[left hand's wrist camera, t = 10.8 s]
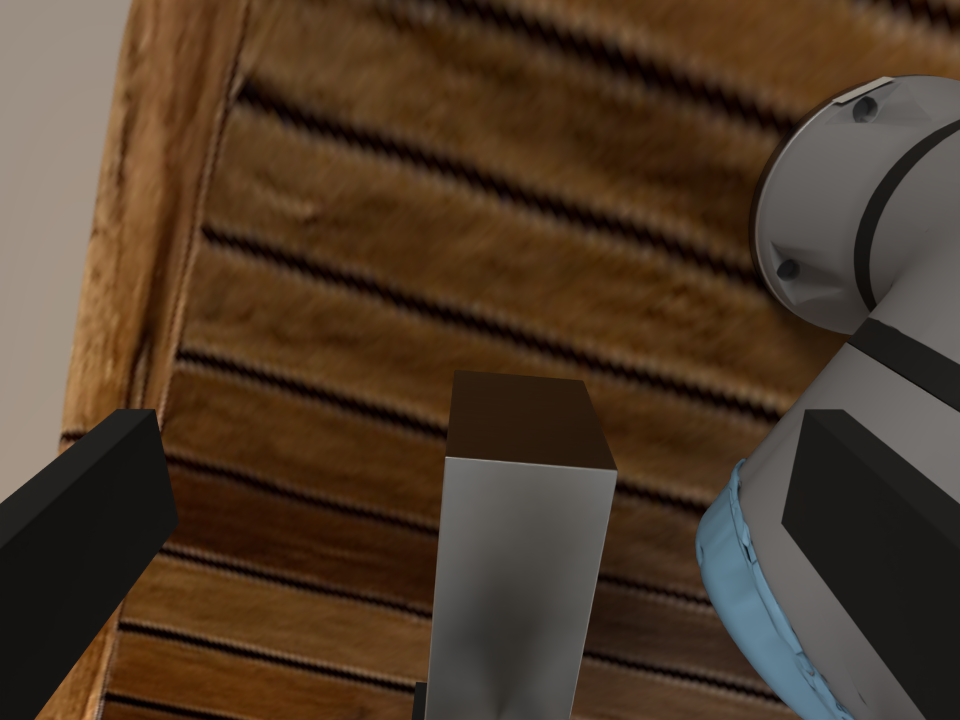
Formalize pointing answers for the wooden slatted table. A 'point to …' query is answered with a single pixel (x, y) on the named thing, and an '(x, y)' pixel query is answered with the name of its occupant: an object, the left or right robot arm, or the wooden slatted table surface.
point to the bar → (516, 547)
